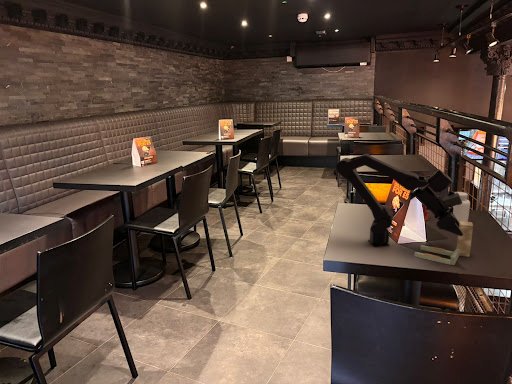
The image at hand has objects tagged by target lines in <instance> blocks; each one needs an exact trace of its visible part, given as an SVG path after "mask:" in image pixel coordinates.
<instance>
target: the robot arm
mask: <svg viewBox="0 0 512 384" xmlns="http://www.w3.org/2000/svg"><path fill="white" fill-rule="evenodd" d="M364 166H366V167H368V168H370V169H371V170H374V171H376V172H378V173H380V174H381V175H384V176H386V177H387V178H390V179H392V180H394V181H395V183H397V184H398V185H400V186H401V187H402V188H403V189H405V190H407V191H409V200H410V201H412V200H413V199H414V198H415V197H416V198H417V199H418V200H419V201H420V202H421V203H422V204H423V205H424V206H425V207H426V209H427V210H429V213H431V214H432V215H433V217H434V219H436V227H437V228H438V229H439V230H442V231H446V232H450V233H452V234H454V235H456V236H458V235H459V236H462V235H463V233H462V232H461V230H460V229H459V222H458V220H457V218H456V217H455V215H454V214H453V206H455V205H460V204H462V200H461V198H460V196H459V193H455V191H453V190H450V191H448V192H447V195H446V196H444V197H441V196H440V195H437V194H436V193H441V192H443V191H444V190H445V189H447V188H448V187H450V186H451V185H452V184H454V181H453V180H452V178H451V177H450V176H449V175H448V174H447V173H445V172H444V171H443V170H441V169H440V168H439V169H437V170H436V171H435V172H434V173H432V174H431V175H430V176H422V175H418V174H417V173H416V172H412V171H408V170H405V169H400V168H398V167H396V166H393V165H391V164H388V163H387V162H385V161H382V160H380V159H378V158H376V157H373V156H372V155H370V153H364V154H362V155H359V156H358V155H357V156H354V157H352V158H349V157H343V158H342V159H341V160H339V161H338V162H337V163H336V166H335V167H336V168H335V169H336V172H337V173H338V174H339V175H340V176H341V177H342V178H343V179H345V180H346V181H347V182H349V183H350V185H351V186H352V187H353V189H354V190H355V191H356V192H357V194H358V195H359V197H360V198H361V199H362V200H363V202H364V203H365V204H366V206H367V207H368V209H369V210H370V212H371V214H372V216H373V220H372V224H371V225H370V229H369V239H368V240H367V242H368V243H369V244H370V245H371V246H372V247H374V248H378V247H379V248H380V247H389V246H390V241H389V240H390V232H389V228H391V227H392V224H393V220H394V215H393V213H394V211H393V210H391V209H390V207H389V205H388V204H385V205H382V204H381V203H380V202H379V200H378V199H377V197H375V194H373V192H372V191H371V189H370V188H369V187H368V185H367V184H366V183H365V182H364V180H363V179H362V178H361V176H360V175H359V172H358V170H357V169H358V168H361V167H364ZM449 207H450V208H449Z"/></svg>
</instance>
